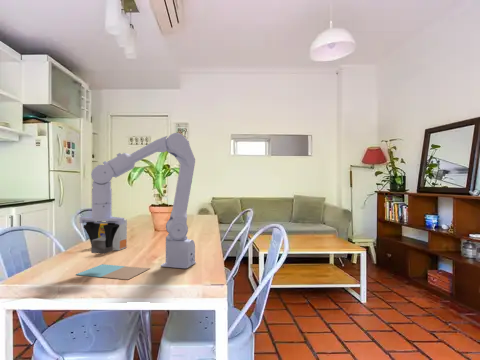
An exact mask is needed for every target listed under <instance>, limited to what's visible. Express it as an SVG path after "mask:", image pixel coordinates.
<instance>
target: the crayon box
mask: <svg viewBox="0 0 480 360" xmlns="http://www.w3.org/2000/svg"><path fill="white" fill-rule="evenodd" d="M96 222H103V221H96ZM104 225H108V224H100V227H99V232H98V238H106V237H105V231H104V227H103V226H104Z"/></svg>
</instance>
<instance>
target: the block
mask: <svg viewBox="0 0 480 360" xmlns="http://www.w3.org/2000/svg"><path fill="white" fill-rule="evenodd" d="M90 245H91V251H90V253H91V254H101V255H103V254H104V255H105V254H108V253H110V252H112V251H114V250H113V243H112V246H111V247H108V248H107V247H106V238H97V239H94V240H91V242H90Z"/></svg>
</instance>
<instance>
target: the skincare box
mask: <svg viewBox="0 0 480 360" xmlns="http://www.w3.org/2000/svg"><path fill="white" fill-rule="evenodd" d="M127 233H128V219H125V218H124V224H122V225H119V228H118V229H117V231H116V233H115V236H114V239H113V251H120V250H123V249H127V246H128V245H127V244H128V240H127V239H128V235H127Z"/></svg>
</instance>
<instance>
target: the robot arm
mask: <svg viewBox="0 0 480 360" xmlns="http://www.w3.org/2000/svg"><path fill="white" fill-rule="evenodd" d="M166 152H168V153H169V154H170V155H171V156H173V157H174V158H175V159H176V160H177V161H178V163H179V170H178V176H177V180H176V186H175V187H176V188H175V194H174V198H173V205H172V208H171V209H172V210H171V212H170V217H169V219H168V220H167V221H166V223H165V231H167V233H168V234H167V236H165V262H164V263H161V264H160V267H162V268H176V269H188V268H190V267H192V266H193V265H195V264H196V262H197V261H196V243H195V241H194V240H193V239H189V238H188V236H187V235H188V232H189V227H188V224H187V223H188V222H187V221H188V212H187V211H188V207H189V200H190V195H191V188H192V182H193V176H194V170H195V165H196V158H195V156H194V152H193V150H192V148H191V145H190V141H189V140H188V139H187V138H186V137H185V136H184V135H183V134H182V133H181V132H180V133H179V132H173V133H171V134H170V135H169V136H168V135H166V136H162V137H161V138H158V139H156V140H154V141H151V142H150V143H148V144H146V145H144V146H142V147H141V148H140V149H137V150H136V151H134V152H132V153H127V152H123V153H121V152H119V153H117V154H116V156H115V157H114V158H111V159H110V160H109V159H108V161H106V160H104V161H103V162H102V164H98V165H96V166H95V167H94V168H93V169H92V171H91V179H92V183H91V185H92V189H91V216H80V217H79V224H84V225H83V228H84V230H85V232H86V233H87V235H88V239H89V242H90V243H91V240H94V239H97V238H98V232H99V227H100V224H108V225H104V226H103V227H104V231H105V237H106V247H107V248H108V247H111V246H112V243H113V239H114V236H115V233H116V231H117V229H118V228H119V225H122V224H124V219H125V217H119V216H118V217H117V216H113V215H112V206H113V205H112V202H113V201H112V200H113V199H112V195H113V194H112V184H111V183H112V182H111V181H112V179H113V178H118V177H120V176H122V175H124V174H125V173H128V172H129V171H131V170H134V168H135V165H136V163H137V162H139V161H141V160H144V159H145V158H147V157H150V156H151V155H154V154H155V153H166ZM97 221H102V222H97Z"/></svg>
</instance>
